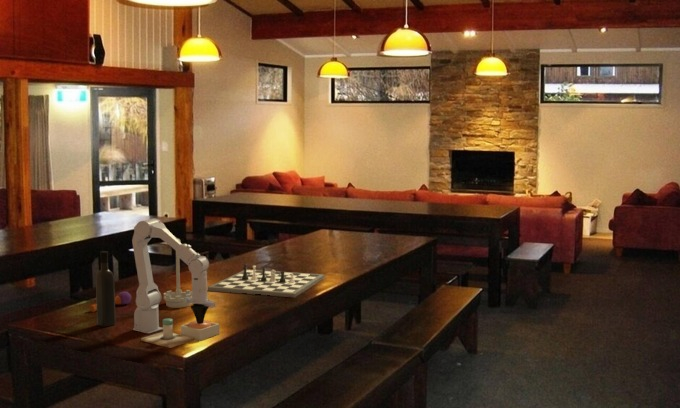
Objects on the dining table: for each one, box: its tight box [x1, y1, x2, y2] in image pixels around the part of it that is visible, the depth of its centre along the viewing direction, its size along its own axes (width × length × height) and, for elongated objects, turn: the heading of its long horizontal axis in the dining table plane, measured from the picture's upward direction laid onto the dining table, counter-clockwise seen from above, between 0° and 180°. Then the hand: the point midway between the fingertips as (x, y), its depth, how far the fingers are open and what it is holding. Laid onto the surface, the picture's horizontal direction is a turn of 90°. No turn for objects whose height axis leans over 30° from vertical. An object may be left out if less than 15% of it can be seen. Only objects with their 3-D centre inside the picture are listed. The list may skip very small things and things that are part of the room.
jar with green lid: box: [162, 317, 174, 339], centre depth 278 cm, size 4×4×7 cm
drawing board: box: [140, 331, 195, 349], centre depth 278 cm, size 16×12×1 cm
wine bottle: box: [95, 250, 116, 328], centre depth 297 cm, size 6×6×30 cm
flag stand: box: [163, 238, 192, 309], centre depth 330 cm, size 13×13×30 cm
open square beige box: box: [180, 322, 221, 341], centre depth 285 cm, size 10×10×4 cm
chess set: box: [207, 261, 325, 298], centre depth 373 cm, size 45×45×11 cm
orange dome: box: [188, 319, 211, 329], centre depth 285 cm, size 8×8×4 cm
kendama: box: [89, 291, 132, 313], centre depth 326 cm, size 6×6×20 cm
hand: (200, 323), depth 285 cm, fingers closed, pressing on orange dome
